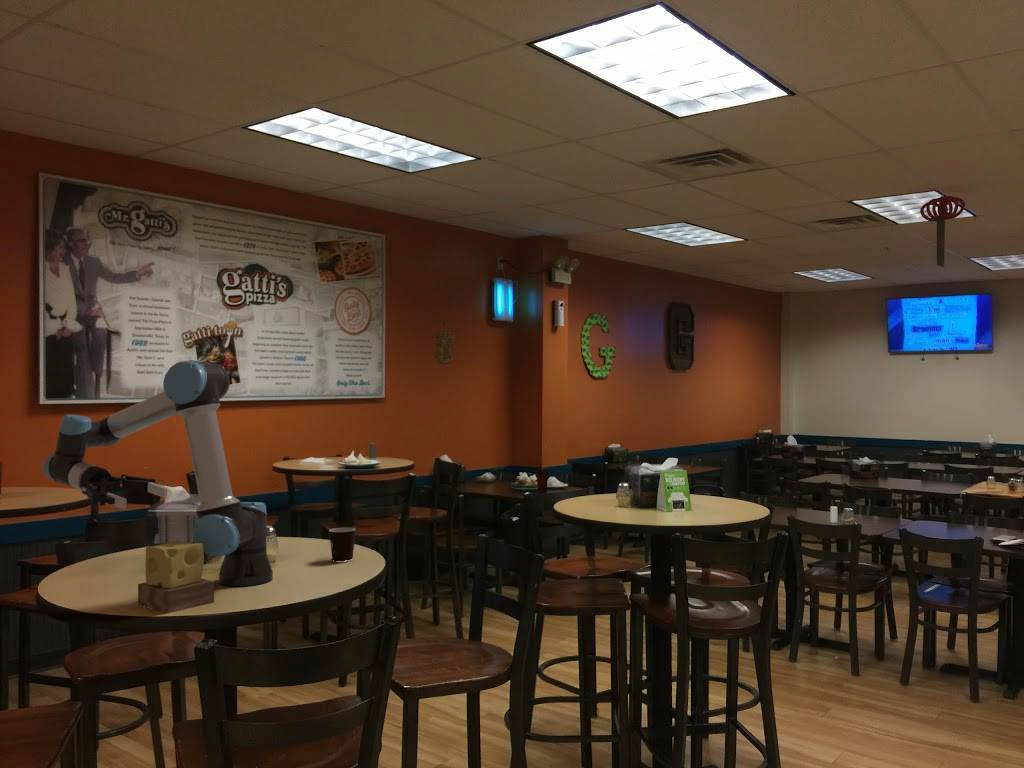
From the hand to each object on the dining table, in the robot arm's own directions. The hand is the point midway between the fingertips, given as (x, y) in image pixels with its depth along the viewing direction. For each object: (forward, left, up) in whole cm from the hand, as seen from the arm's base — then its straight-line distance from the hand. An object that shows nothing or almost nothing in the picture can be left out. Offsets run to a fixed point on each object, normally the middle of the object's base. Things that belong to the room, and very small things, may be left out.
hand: (146, 498), depth 225 cm
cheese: (-12, +3, -21) cm, 25 cm away
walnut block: (-12, +3, -27) cm, 30 cm away
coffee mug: (-25, -60, -27) cm, 70 cm away
